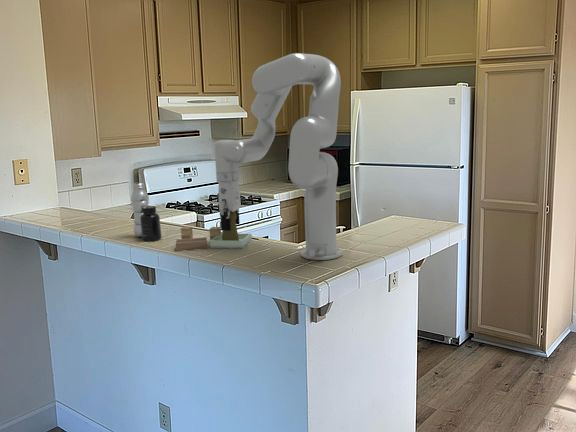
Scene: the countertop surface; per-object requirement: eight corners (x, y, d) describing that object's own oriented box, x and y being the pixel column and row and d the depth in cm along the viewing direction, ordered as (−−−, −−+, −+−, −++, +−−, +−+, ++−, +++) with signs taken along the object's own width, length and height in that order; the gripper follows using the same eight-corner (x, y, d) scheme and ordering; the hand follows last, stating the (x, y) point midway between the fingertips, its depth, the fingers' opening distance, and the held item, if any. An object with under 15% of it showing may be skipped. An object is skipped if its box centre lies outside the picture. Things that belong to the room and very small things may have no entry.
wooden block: (206, 250, 189) (206, 241, 188) (176, 252, 188) (175, 243, 187) (207, 245, 195) (206, 237, 194) (177, 247, 194) (176, 239, 193)
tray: (242, 248, 188) (242, 241, 187) (210, 247, 190) (209, 240, 190) (251, 240, 199) (251, 233, 198) (221, 240, 201) (220, 233, 201)
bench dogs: (218, 242, 197) (217, 228, 196) (181, 242, 200) (180, 228, 199) (221, 240, 200) (220, 226, 199) (185, 240, 203) (184, 226, 202)
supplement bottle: (151, 236, 211) (149, 204, 208) (165, 238, 207) (162, 205, 205) (138, 240, 205) (135, 208, 203) (152, 242, 201) (149, 209, 199)
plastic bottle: (139, 239, 207) (134, 184, 203) (131, 236, 212) (126, 183, 208) (155, 236, 211) (150, 182, 207) (147, 233, 216) (142, 181, 212)
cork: (234, 245, 190) (232, 213, 188) (218, 244, 192) (216, 212, 190) (242, 241, 195) (240, 209, 193) (226, 240, 197) (224, 209, 195)
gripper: (230, 180, 181) (233, 233, 184) (245, 173, 198) (248, 222, 201) (208, 180, 183) (211, 232, 186) (225, 174, 199) (228, 222, 202)
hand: (230, 227), depth 193 cm, fingers open, 9 cm apart
